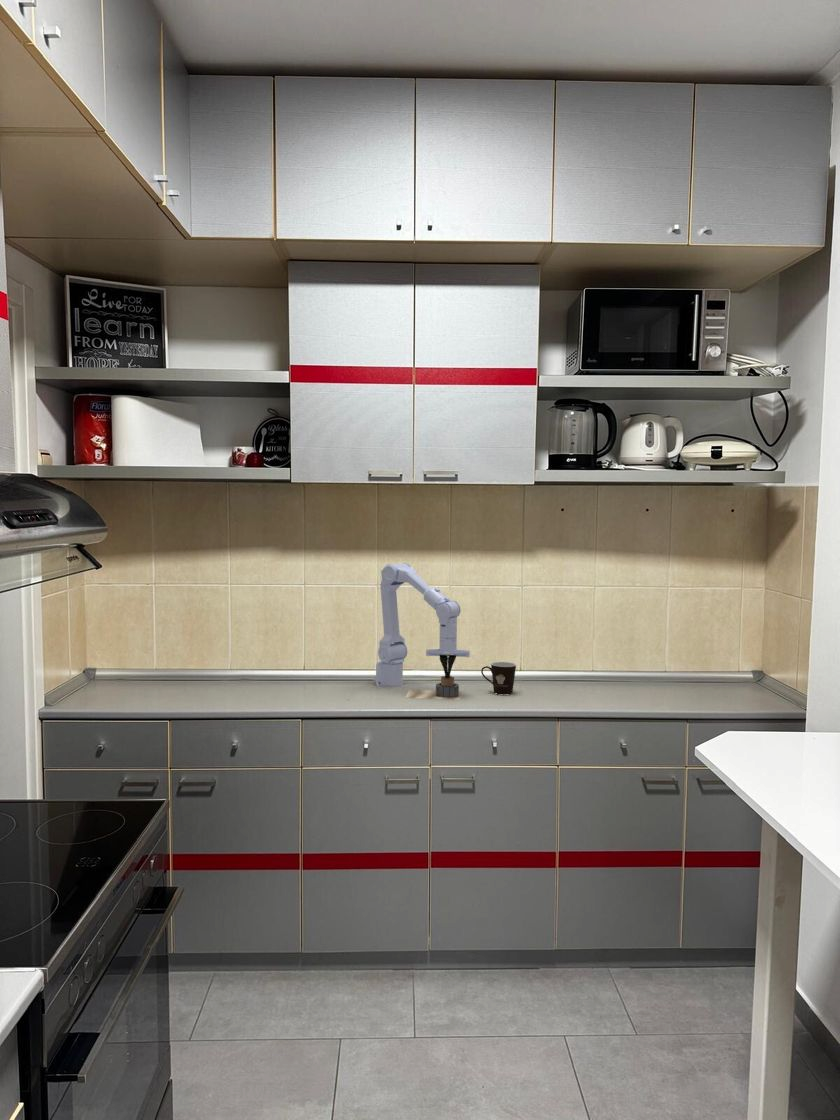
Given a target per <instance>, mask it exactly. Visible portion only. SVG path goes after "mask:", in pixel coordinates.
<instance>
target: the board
mask: <svg viewBox="0 0 840 1120" xmlns="http://www.w3.org/2000/svg"><path fill="white" fill-rule="evenodd" d="M461 696H462V691H460V690H459V696H458V697H453V698H444V697H438V696H436V690H432V689H431V690H429V689H428V690H427V689H409V690H408V691H407V694H406V695H405V698H404V699H422V700H423V699H425V700H427V699H428V700H451V701H452V700H453V701H454V700H455V701H460V699H461Z"/></svg>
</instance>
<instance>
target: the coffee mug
mask: <svg viewBox="0 0 840 1120" xmlns="http://www.w3.org/2000/svg"><path fill="white" fill-rule="evenodd" d="M490 665H491V667H490V666H488V665H486V666H483V667H482V668H481V670H480V673H481V675H482V677H484V679H485V680H486V681H488V682H489V683H491V685H492V687H493V694H495V693H497V694H496V695H498V694H510V695H512V694H513V691H514V683H515V676H516V670H517V669H516V668H517V664H516V663H514V662H509V661H497V662H495V661H494V662H492V663H491V664H490ZM484 669H488V670H490V672H491V677H492V680H490V679H489V678H488V677H487V676H486V675H485V674H484ZM511 693H512V694H511Z"/></svg>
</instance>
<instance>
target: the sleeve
mask: <svg viewBox="0 0 840 1120" xmlns="http://www.w3.org/2000/svg"><path fill="white" fill-rule="evenodd" d="M435 691H436V696H438V697H444V698H453V697H458V696H459V691H460V684H458V683H456V682H454V686H451V687H444V686H441V682H437V683H436V684H435Z"/></svg>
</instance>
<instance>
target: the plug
mask: <svg viewBox="0 0 840 1120" xmlns="http://www.w3.org/2000/svg"><path fill="white" fill-rule="evenodd" d="M440 683H441V686H444V687H451V686H454V683H455V676H452V675H450V678H445V675H442V676H440Z"/></svg>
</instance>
